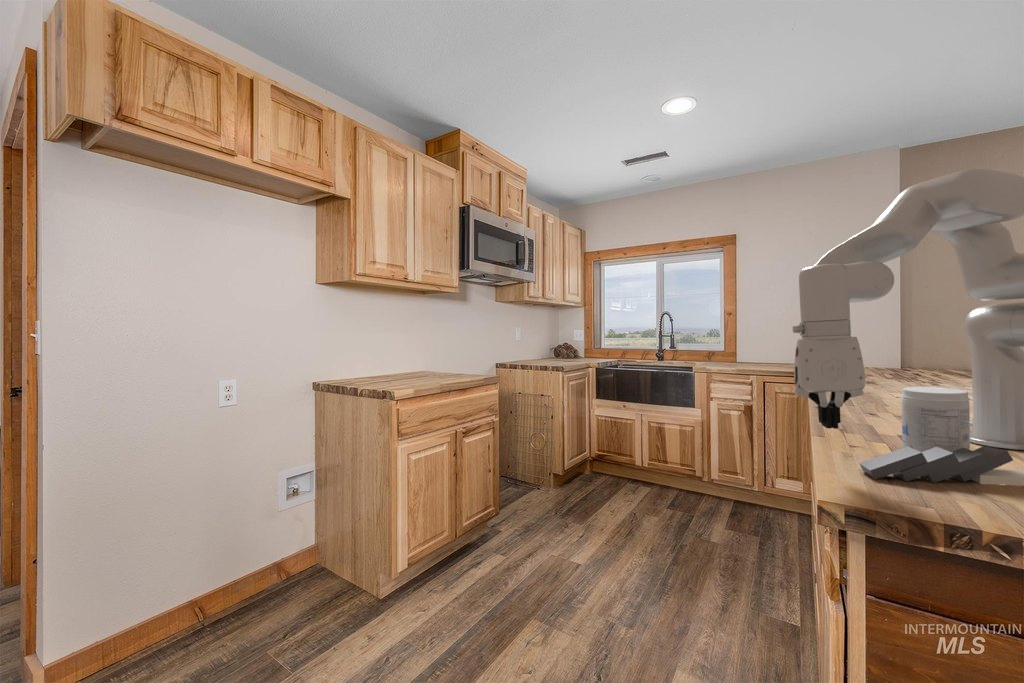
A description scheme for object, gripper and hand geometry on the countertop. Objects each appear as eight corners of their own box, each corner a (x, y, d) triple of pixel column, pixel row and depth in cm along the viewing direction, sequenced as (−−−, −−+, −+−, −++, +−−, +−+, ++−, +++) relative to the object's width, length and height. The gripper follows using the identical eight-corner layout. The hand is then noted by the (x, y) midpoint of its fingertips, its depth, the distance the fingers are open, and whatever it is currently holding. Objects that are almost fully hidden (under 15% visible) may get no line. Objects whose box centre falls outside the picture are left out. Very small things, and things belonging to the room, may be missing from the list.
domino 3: (912, 466, 77) (962, 447, 75) (918, 475, 77) (968, 456, 75) (928, 473, 73) (981, 454, 71) (934, 483, 73) (988, 463, 71)
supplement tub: (897, 454, 90) (896, 385, 90) (960, 459, 85) (958, 387, 85) (909, 466, 82) (907, 391, 82) (979, 473, 77) (977, 393, 77)
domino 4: (937, 466, 77) (984, 445, 76) (943, 475, 77) (989, 454, 76) (958, 472, 73) (1007, 450, 72) (964, 481, 73) (1013, 460, 72)
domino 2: (887, 465, 78) (936, 446, 76) (892, 473, 78) (942, 455, 76) (900, 472, 74) (953, 453, 72) (906, 481, 74) (959, 462, 72)
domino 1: (858, 463, 80) (907, 446, 78) (863, 472, 80) (913, 455, 77) (870, 470, 76) (921, 452, 74) (875, 479, 76) (927, 461, 73)
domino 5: (962, 467, 76) (1022, 470, 74) (962, 477, 76) (1022, 480, 74) (980, 475, 72) (1044, 478, 70) (980, 485, 72) (1045, 489, 70)
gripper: (786, 333, 78) (791, 431, 79) (884, 328, 74) (888, 432, 74) (774, 332, 85) (778, 422, 86) (862, 328, 81) (867, 422, 81)
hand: (829, 426), depth 80 cm, fingers closed
